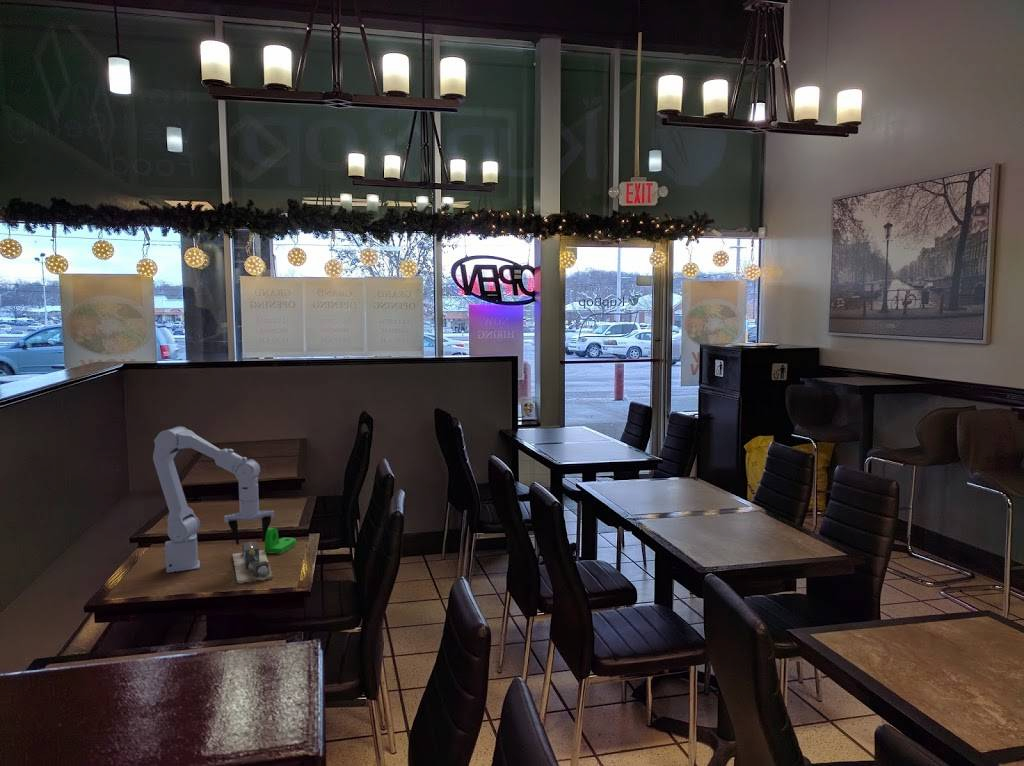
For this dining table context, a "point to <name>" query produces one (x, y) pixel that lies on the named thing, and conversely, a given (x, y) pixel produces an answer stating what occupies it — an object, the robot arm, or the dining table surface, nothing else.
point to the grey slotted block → (250, 553)
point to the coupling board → (247, 574)
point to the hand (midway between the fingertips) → (250, 542)
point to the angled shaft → (259, 568)
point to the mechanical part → (277, 542)
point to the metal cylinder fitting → (243, 548)
